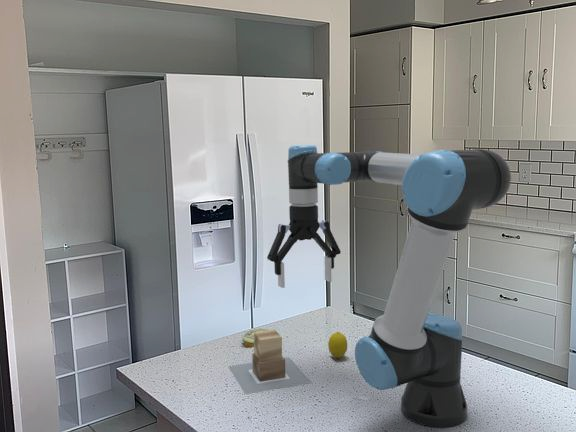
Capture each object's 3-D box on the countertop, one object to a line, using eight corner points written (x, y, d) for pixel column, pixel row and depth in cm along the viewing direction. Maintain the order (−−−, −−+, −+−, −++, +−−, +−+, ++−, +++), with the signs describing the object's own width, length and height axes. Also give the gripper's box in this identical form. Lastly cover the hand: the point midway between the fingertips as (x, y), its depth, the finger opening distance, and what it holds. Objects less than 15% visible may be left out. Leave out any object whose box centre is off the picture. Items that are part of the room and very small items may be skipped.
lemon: (347, 354, 170) (347, 328, 169) (347, 362, 165) (347, 335, 163) (328, 354, 171) (328, 328, 169) (328, 361, 165) (328, 335, 164)
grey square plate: (312, 387, 149) (312, 382, 149) (245, 398, 143) (245, 394, 143) (289, 361, 166) (289, 357, 166) (228, 370, 160) (228, 366, 160)
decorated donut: (235, 345, 179) (235, 333, 178) (259, 335, 187) (259, 324, 186) (260, 353, 172) (260, 341, 172) (283, 343, 180) (283, 331, 180)
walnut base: (285, 377, 152) (285, 359, 151) (260, 381, 150) (259, 363, 149) (277, 367, 159) (276, 350, 158) (252, 371, 156) (252, 353, 156)
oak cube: (282, 358, 152) (281, 337, 151) (260, 361, 150) (259, 339, 149) (275, 350, 158) (274, 329, 157) (254, 353, 156) (253, 332, 155)
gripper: (339, 200, 158) (340, 275, 161) (253, 206, 149) (256, 285, 152) (352, 202, 151) (353, 281, 154) (263, 209, 142) (266, 292, 145)
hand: (305, 283), depth 153 cm, fingers open, 13 cm apart
